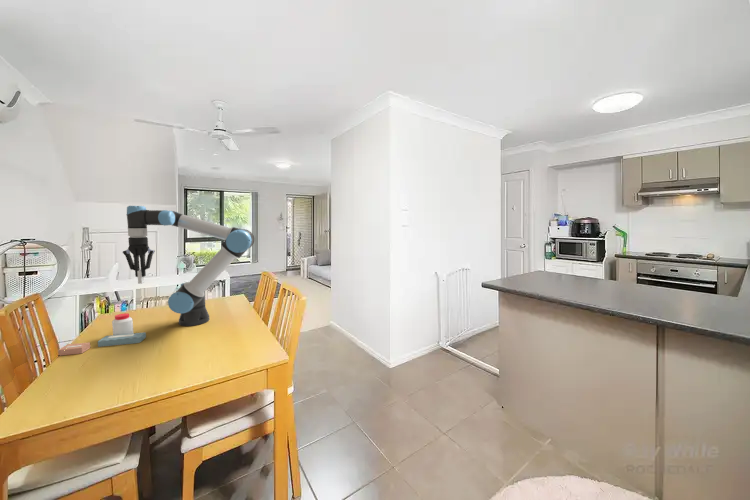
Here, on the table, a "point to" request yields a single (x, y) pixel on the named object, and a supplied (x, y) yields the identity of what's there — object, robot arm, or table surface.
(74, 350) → the pink labeled box
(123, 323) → the pill bottle
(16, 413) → the table surface
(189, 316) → the robot arm
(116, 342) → the blue labeled box
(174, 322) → the table surface
